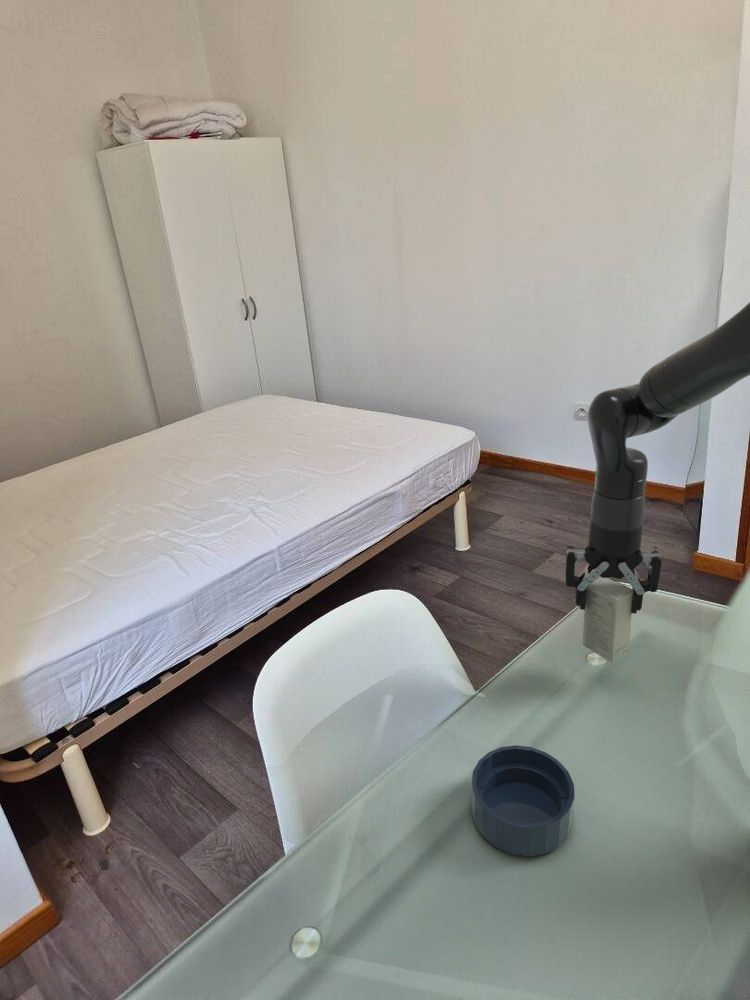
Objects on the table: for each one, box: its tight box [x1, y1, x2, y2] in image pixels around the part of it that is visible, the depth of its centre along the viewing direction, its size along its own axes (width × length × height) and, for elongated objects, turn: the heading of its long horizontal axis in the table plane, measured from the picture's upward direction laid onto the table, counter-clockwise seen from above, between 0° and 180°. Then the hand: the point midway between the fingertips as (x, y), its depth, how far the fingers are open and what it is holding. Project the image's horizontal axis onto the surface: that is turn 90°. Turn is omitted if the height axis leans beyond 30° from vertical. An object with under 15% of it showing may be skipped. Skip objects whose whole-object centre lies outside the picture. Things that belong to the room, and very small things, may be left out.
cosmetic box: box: [582, 576, 633, 663], centre depth 110 cm, size 6×4×12 cm
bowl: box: [470, 745, 575, 857], centre depth 92 cm, size 13×13×6 cm
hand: (607, 608), depth 109 cm, fingers closed on cosmetic box, 7 cm apart
